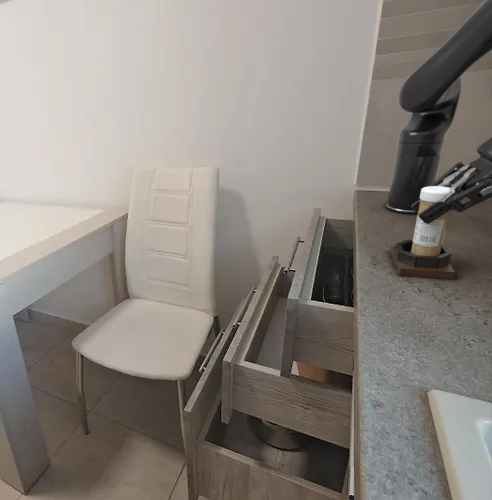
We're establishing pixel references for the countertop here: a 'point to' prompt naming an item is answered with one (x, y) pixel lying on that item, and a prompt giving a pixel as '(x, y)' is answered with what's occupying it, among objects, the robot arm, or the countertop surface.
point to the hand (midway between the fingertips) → (418, 214)
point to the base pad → (421, 262)
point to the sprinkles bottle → (430, 224)
